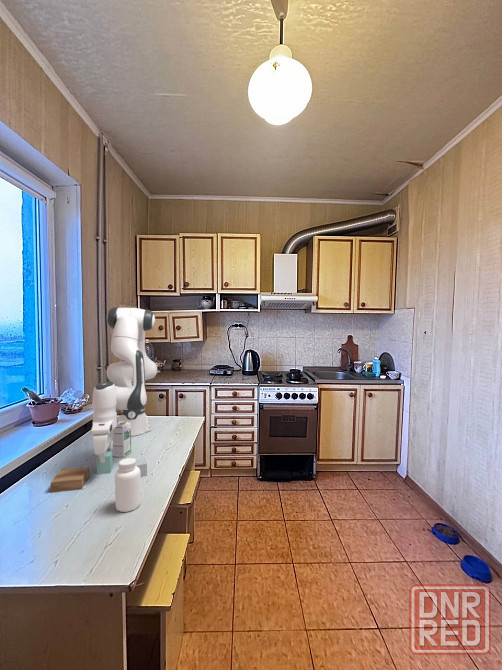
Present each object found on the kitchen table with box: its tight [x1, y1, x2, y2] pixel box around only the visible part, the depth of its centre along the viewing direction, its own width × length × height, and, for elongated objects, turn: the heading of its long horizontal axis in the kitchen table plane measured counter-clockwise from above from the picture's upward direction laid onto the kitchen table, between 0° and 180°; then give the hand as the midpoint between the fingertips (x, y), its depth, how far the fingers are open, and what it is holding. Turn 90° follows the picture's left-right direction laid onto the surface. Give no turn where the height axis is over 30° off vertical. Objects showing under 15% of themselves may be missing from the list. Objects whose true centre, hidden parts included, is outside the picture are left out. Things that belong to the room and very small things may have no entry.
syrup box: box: [112, 421, 132, 458], centre depth 142 cm, size 6×6×14 cm
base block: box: [50, 466, 90, 494], centre depth 116 cm, size 10×10×4 cm
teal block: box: [95, 450, 114, 475], centre depth 126 cm, size 5×5×7 cm
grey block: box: [136, 458, 148, 478], centre depth 124 cm, size 5×5×5 cm
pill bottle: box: [114, 457, 142, 513], centre depth 103 cm, size 8×8×15 cm
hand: (105, 456), depth 126 cm, fingers open, 8 cm apart
